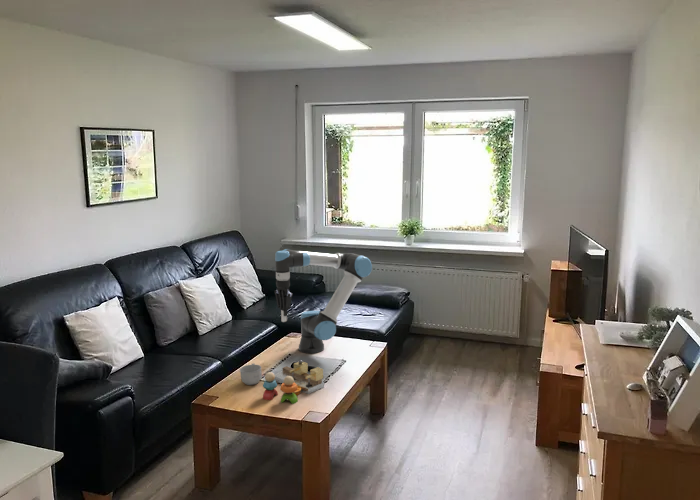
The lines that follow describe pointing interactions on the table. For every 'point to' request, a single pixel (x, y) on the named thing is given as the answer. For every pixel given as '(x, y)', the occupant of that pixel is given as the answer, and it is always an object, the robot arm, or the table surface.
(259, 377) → the teacup
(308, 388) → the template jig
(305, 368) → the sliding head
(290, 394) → the stacking toy figures
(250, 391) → the table surface
